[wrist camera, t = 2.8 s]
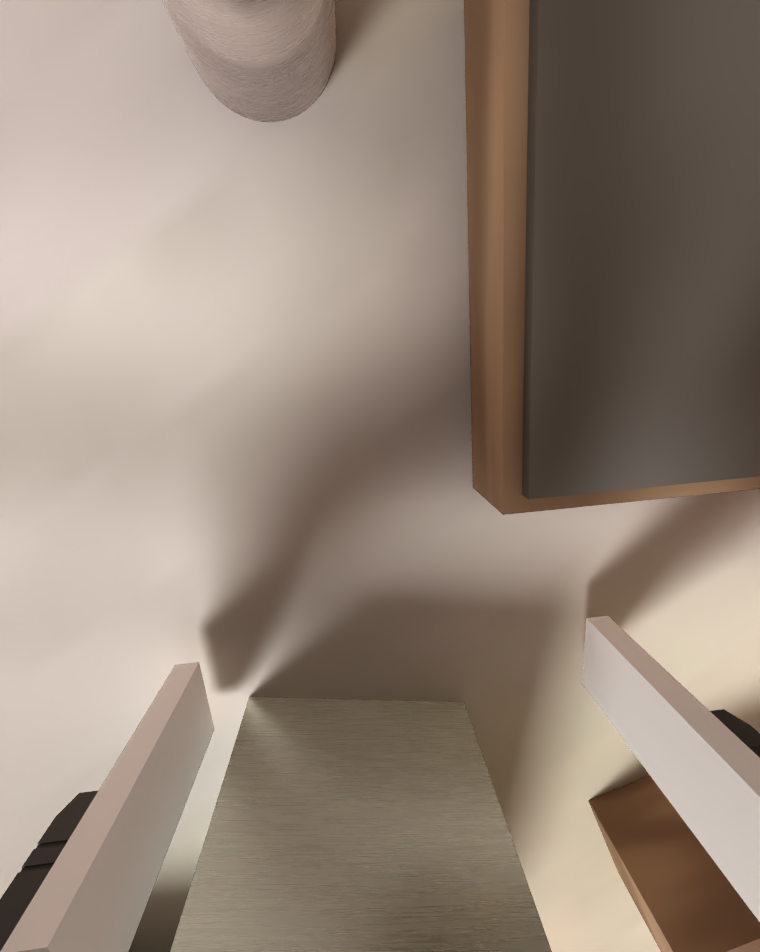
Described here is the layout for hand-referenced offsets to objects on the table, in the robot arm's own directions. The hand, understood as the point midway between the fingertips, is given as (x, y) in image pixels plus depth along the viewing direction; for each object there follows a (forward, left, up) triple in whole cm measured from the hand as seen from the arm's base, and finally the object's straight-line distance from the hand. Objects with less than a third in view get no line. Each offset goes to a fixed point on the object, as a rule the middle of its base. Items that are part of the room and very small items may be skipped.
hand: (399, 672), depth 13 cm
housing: (-3, -9, -1) cm, 9 cm away
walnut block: (+11, -10, -1) cm, 15 cm away
